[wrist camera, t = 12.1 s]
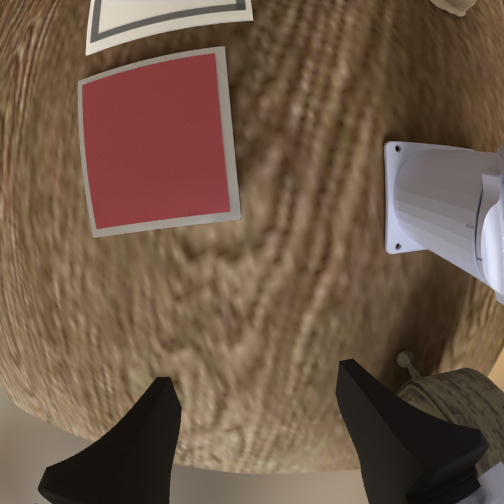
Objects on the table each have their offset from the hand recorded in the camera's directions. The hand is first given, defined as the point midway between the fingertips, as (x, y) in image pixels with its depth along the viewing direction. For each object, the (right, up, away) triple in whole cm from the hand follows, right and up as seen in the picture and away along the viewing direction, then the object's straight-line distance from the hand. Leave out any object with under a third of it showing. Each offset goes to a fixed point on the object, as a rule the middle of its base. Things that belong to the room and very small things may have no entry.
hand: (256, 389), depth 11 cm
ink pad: (-6, +13, +5) cm, 15 cm away
